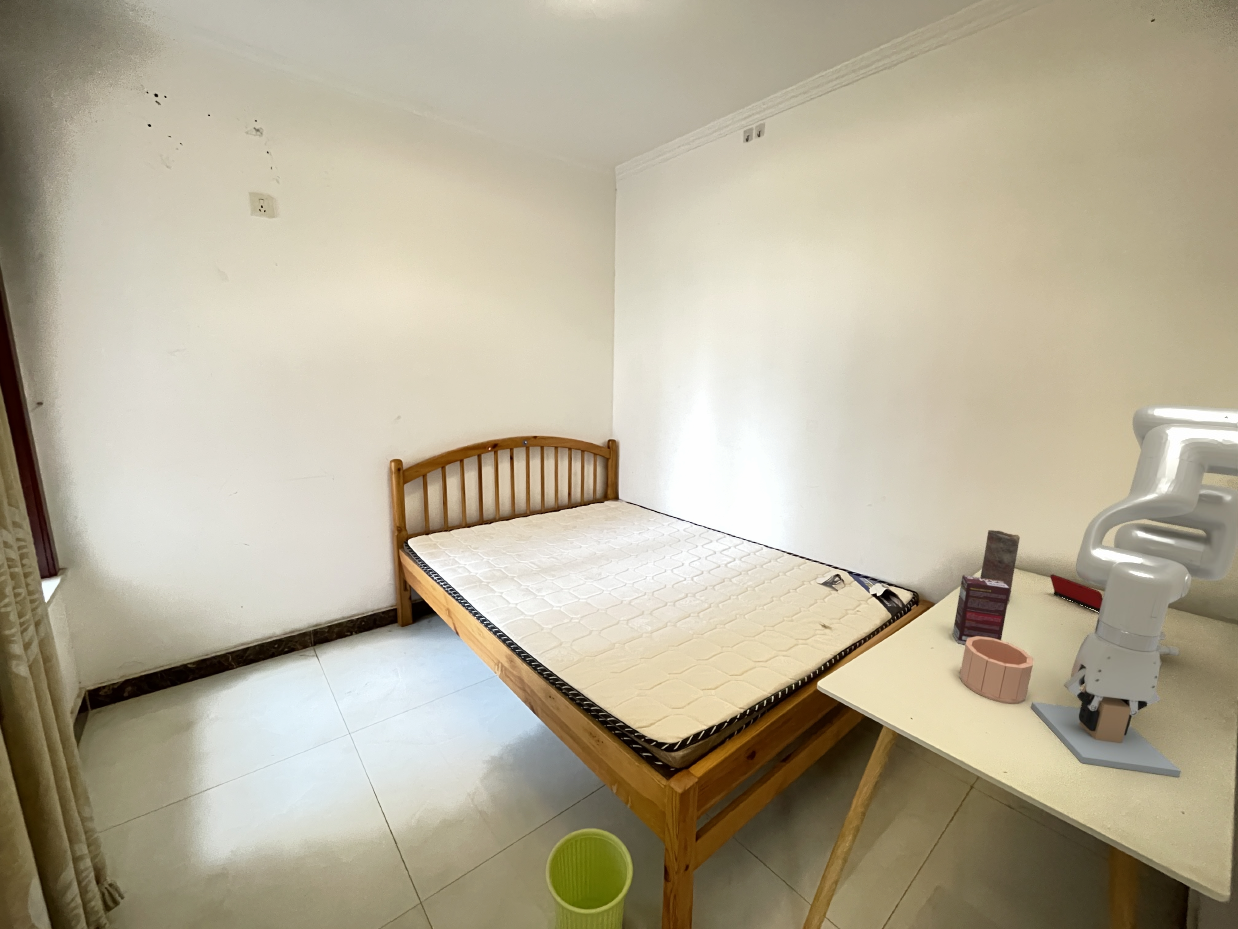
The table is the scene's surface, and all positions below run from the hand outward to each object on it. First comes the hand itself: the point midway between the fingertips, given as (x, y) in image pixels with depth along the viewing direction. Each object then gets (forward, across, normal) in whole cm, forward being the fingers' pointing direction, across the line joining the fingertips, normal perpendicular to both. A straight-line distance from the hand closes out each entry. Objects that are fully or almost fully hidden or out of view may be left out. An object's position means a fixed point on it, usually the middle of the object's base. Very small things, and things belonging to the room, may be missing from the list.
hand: (1101, 726), depth 89 cm
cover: (+3, 0, 0) cm, 3 cm away
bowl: (+3, +11, -13) cm, 17 cm away
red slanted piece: (+3, -35, -61) cm, 70 cm away
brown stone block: (+3, -11, -58) cm, 59 cm away
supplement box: (+3, +6, -31) cm, 32 cm away
